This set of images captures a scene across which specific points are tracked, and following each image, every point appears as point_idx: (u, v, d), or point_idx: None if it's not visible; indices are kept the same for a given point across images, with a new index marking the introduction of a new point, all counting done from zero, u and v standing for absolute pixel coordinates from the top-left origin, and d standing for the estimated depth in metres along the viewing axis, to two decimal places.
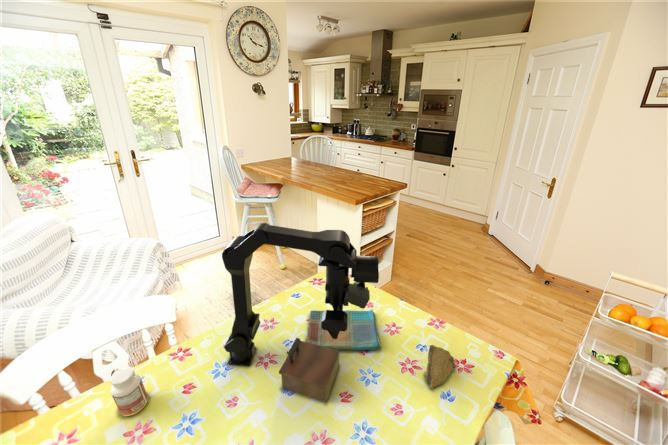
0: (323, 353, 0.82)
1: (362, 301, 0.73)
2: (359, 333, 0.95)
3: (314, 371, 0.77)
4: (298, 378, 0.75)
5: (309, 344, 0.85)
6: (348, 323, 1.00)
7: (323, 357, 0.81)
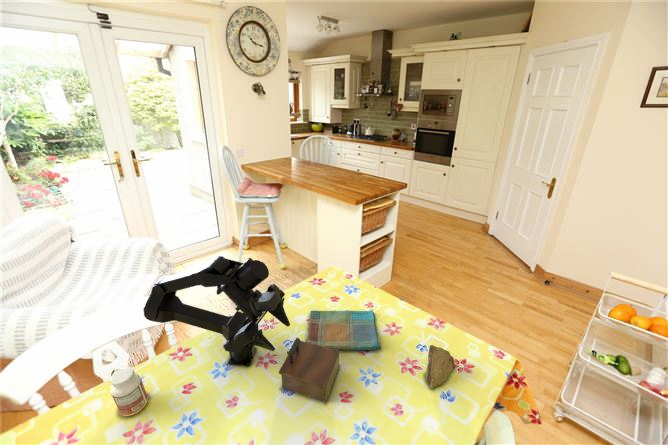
0: (323, 353, 0.82)
1: (265, 304, 0.73)
2: (359, 333, 0.95)
3: (314, 371, 0.77)
4: (298, 378, 0.75)
5: (309, 344, 0.85)
6: (348, 323, 1.00)
7: (323, 357, 0.81)
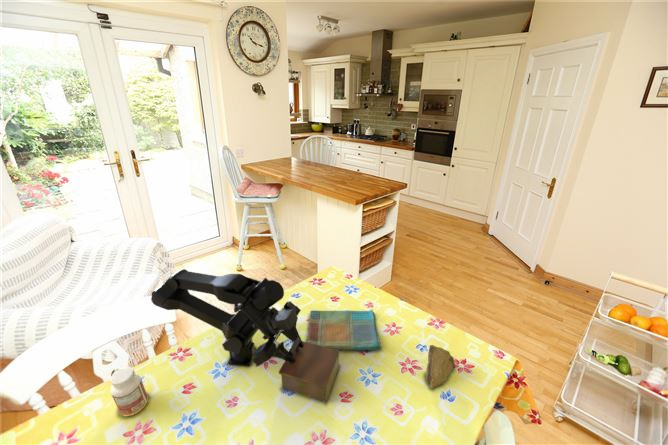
0: (323, 353, 0.82)
1: (282, 323, 0.74)
2: (359, 333, 0.95)
3: (314, 371, 0.77)
4: (298, 378, 0.75)
5: (309, 344, 0.85)
6: (348, 323, 1.00)
7: (323, 357, 0.81)
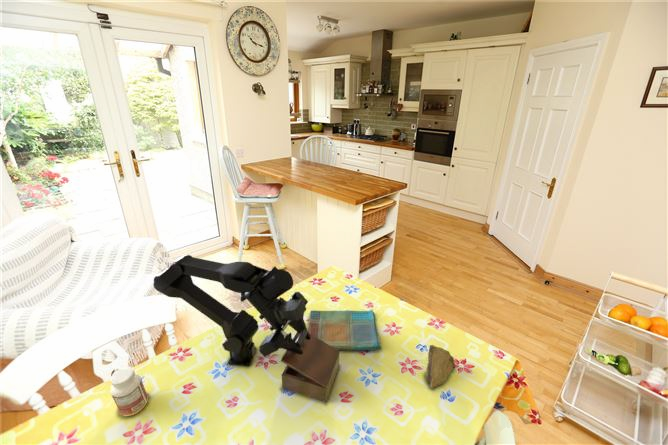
0: (325, 350, 0.81)
1: (291, 313, 0.71)
2: (359, 333, 0.95)
3: (316, 367, 0.76)
4: (300, 371, 0.74)
5: (311, 336, 0.83)
6: (348, 323, 1.00)
7: (324, 354, 0.80)
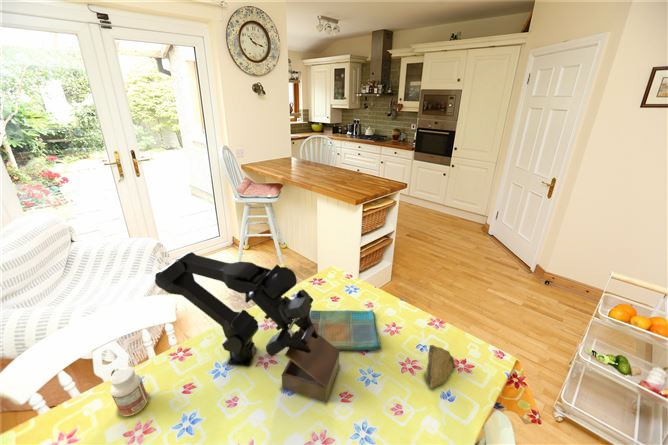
0: (326, 348, 0.81)
1: (296, 311, 0.71)
2: (359, 333, 0.95)
3: (318, 366, 0.75)
4: (302, 368, 0.73)
5: None
6: (348, 323, 1.00)
7: (326, 352, 0.80)
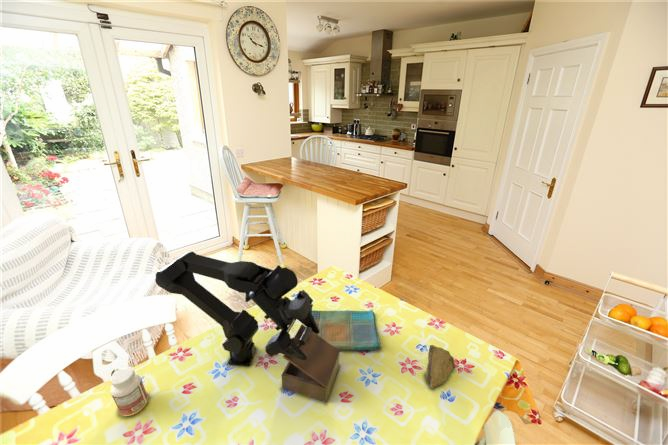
0: (326, 349, 0.81)
1: (296, 312, 0.71)
2: (359, 333, 0.95)
3: (317, 366, 0.76)
4: (301, 369, 0.73)
5: (313, 334, 0.83)
6: (348, 323, 1.00)
7: (325, 353, 0.80)
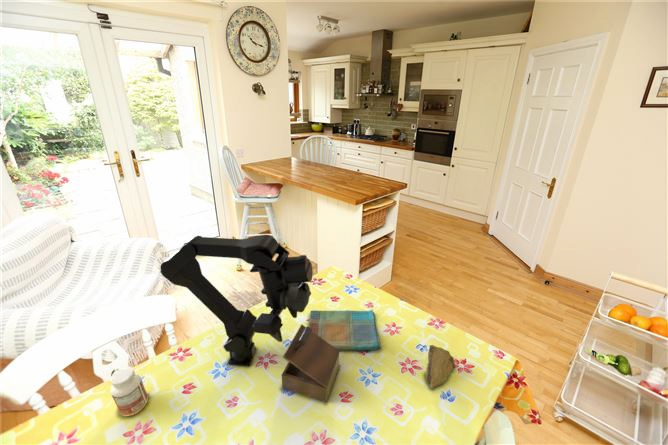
0: (326, 349, 0.81)
1: (297, 305, 0.73)
2: (359, 333, 0.95)
3: (317, 366, 0.76)
4: (301, 369, 0.73)
5: (313, 334, 0.83)
6: (348, 323, 1.00)
7: (325, 353, 0.80)
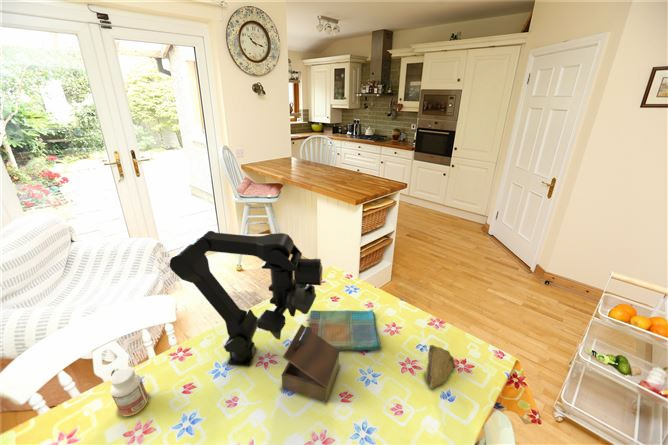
0: (326, 349, 0.81)
1: (303, 306, 0.74)
2: (359, 333, 0.95)
3: (317, 366, 0.76)
4: (301, 369, 0.73)
5: (313, 334, 0.83)
6: (348, 323, 1.00)
7: (325, 353, 0.80)
